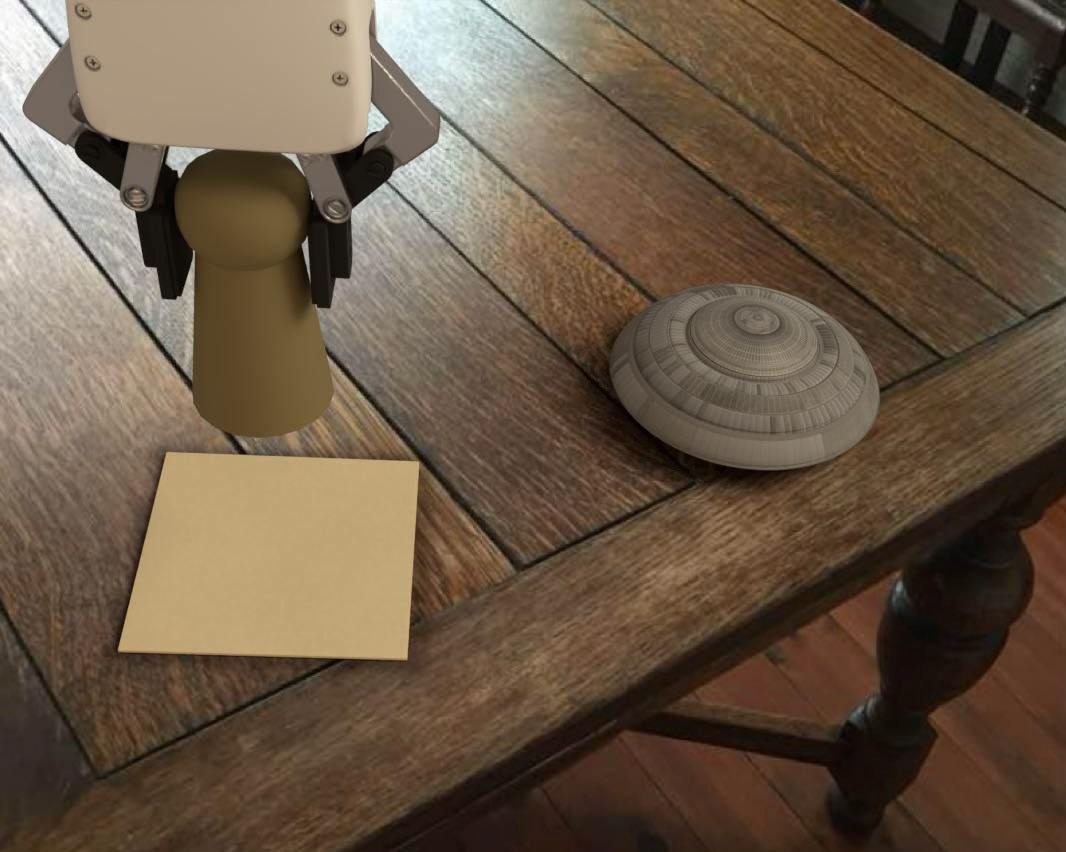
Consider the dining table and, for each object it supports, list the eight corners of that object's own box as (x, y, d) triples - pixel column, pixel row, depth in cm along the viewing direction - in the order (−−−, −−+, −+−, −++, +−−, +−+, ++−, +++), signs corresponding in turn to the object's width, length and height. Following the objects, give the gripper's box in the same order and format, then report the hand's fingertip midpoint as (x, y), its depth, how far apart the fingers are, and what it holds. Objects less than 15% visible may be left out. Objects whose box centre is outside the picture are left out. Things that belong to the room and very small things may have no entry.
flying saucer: (602, 305, 81) (613, 227, 77) (850, 320, 82) (873, 243, 78) (611, 482, 71) (623, 402, 67) (894, 496, 72) (923, 419, 68)
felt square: (166, 454, 70) (166, 451, 70) (419, 463, 71) (419, 461, 71) (118, 652, 61) (117, 650, 61) (407, 660, 62) (407, 658, 62)
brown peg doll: (362, 382, 60) (355, 159, 51) (270, 458, 56) (247, 231, 48) (256, 328, 62) (233, 106, 54) (161, 398, 58) (121, 171, 50)
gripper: (485, -227, 44) (468, 242, 58) (-48, -266, 44) (59, 217, 57) (477, -138, 39) (460, 355, 52) (-127, -180, 38) (11, 330, 52)
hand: (251, 279), depth 54 cm, fingers closed on brown peg doll, 5 cm apart
